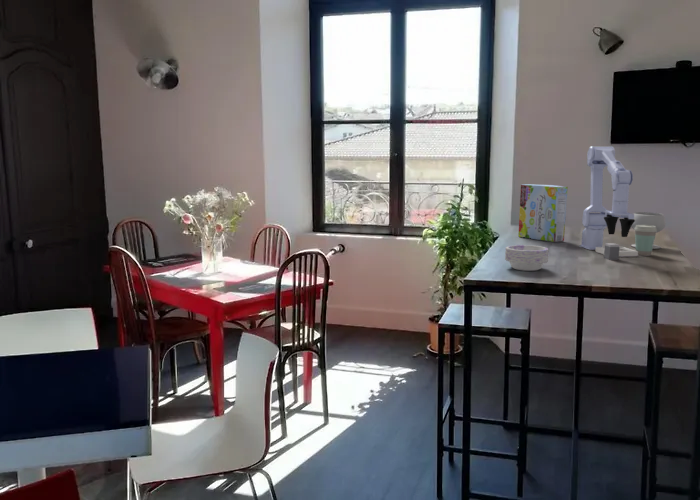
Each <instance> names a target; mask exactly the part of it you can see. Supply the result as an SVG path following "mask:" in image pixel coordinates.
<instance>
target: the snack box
mask: <svg viewBox="0 0 700 500" xmlns="http://www.w3.org/2000/svg"><path fill="white" fill-rule="evenodd" d="M519 198H520V199H519V213H518V215H519V219H518V236H519V238H523V237H525V238H524V239H530V238H531V240H538V241H543V242H545V241H546V242H552V243H555V242H556V243H557V242H564V241H565V232H566V218H567V216H566V215H567V201H568V199H567V198H568V186H566V185H565V186H562V185H553V184H533V183H532V184H530V183H528V184H525V183H524V184H523V183H522V184H520V197H519Z"/></svg>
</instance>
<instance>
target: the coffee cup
mask: <svg viewBox="0 0 700 500" xmlns="http://www.w3.org/2000/svg"><path fill="white" fill-rule="evenodd" d="M656 232H657V229H656V226H652V225H636V227H635V230H634V237H635V238H634V241H635V242H634V244H636V247H635V251H638V256H644V257H648V256H649V257H650V256H652V253H653V250H654V249H653V245H655V238H656V234H657V233H658V232H657V233H656Z"/></svg>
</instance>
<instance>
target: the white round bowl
mask: <svg viewBox="0 0 700 500" xmlns="http://www.w3.org/2000/svg"><path fill="white" fill-rule="evenodd" d="M504 260H505V261H506V262H509V264H510V267H511V268H512V269H513V270H517V271H525V272H527V271H528V272H532V271H539V270H541V269H542V267H543V266H544V264H547V263H548V262H549V248H548V247H545V246H540V245H531V244H530V245H527V244H526V245H525V244H522V245H521V244H517V245H515V244H514V245H508V246H505V255H504Z"/></svg>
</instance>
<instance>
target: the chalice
mask: <svg viewBox="0 0 700 500" xmlns="http://www.w3.org/2000/svg"><path fill="white" fill-rule="evenodd" d="M633 214H634V220H635V222H634V223H633V224H632V226H631V228H632V229H633V230H634V231H635V227H636V225H652V226H656V229H657V232H656V234H657V233H660V232H661V231H663V230H664V229H665V227H666V224H667V223H666V218H665V215H664V214H663V213H660V212H659V213H658V212H651V211H647V212H645V211H644V212H643V211H638V212H636V211H635V212H634V213H633ZM630 245H631V247H633V248H636V244H635V243H632V244H630ZM661 248H662V246H660V245H657V244H653V249H652V250H659V249H661Z"/></svg>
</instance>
